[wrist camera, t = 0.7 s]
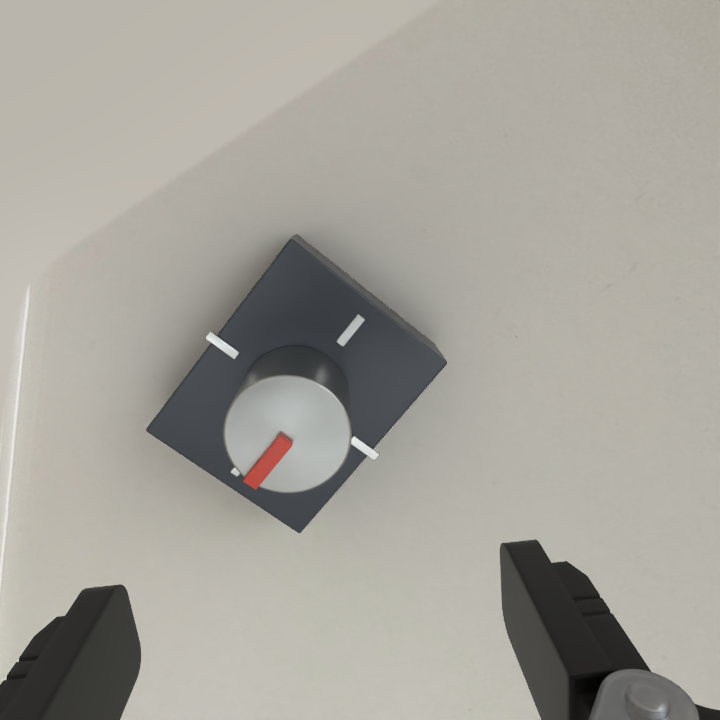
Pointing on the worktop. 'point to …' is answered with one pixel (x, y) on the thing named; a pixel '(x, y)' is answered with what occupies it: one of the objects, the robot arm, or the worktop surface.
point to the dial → (289, 421)
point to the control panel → (311, 330)
